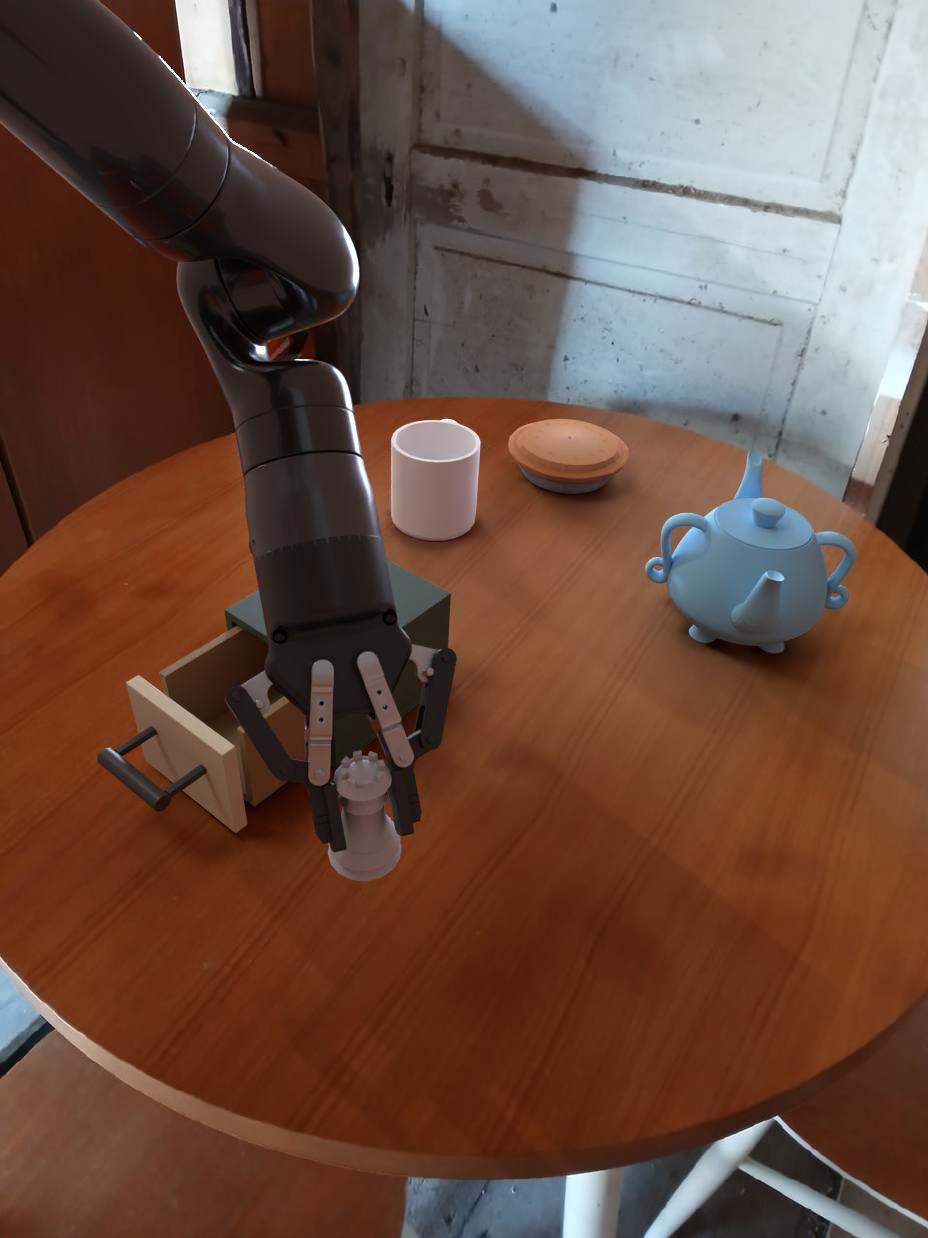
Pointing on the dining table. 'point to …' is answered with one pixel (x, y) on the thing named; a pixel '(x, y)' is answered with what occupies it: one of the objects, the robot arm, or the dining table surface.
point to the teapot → (751, 569)
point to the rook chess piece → (365, 819)
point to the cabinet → (419, 617)
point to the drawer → (205, 731)
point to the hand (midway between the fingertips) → (372, 840)
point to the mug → (434, 479)
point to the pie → (567, 455)
